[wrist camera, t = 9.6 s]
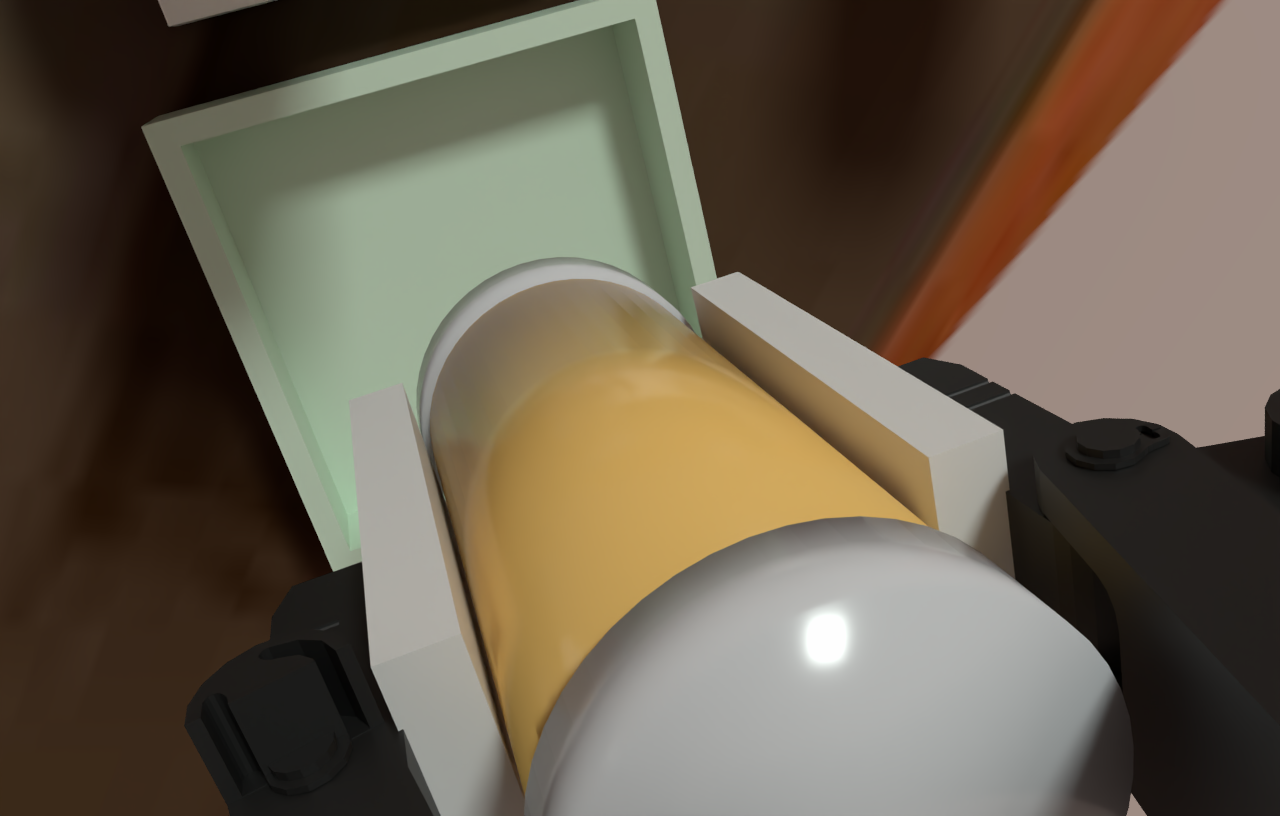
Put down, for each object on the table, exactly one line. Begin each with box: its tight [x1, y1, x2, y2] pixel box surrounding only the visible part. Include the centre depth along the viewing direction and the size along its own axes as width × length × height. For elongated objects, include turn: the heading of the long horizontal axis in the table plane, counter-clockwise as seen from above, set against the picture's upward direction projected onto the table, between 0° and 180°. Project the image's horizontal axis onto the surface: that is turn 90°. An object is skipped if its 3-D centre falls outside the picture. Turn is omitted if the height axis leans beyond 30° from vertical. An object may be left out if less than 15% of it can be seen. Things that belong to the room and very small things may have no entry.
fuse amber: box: [416, 257, 1134, 816], centre depth 12 cm, size 4×4×10 cm
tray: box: [141, 0, 717, 572], centre depth 23 cm, size 10×10×2 cm
